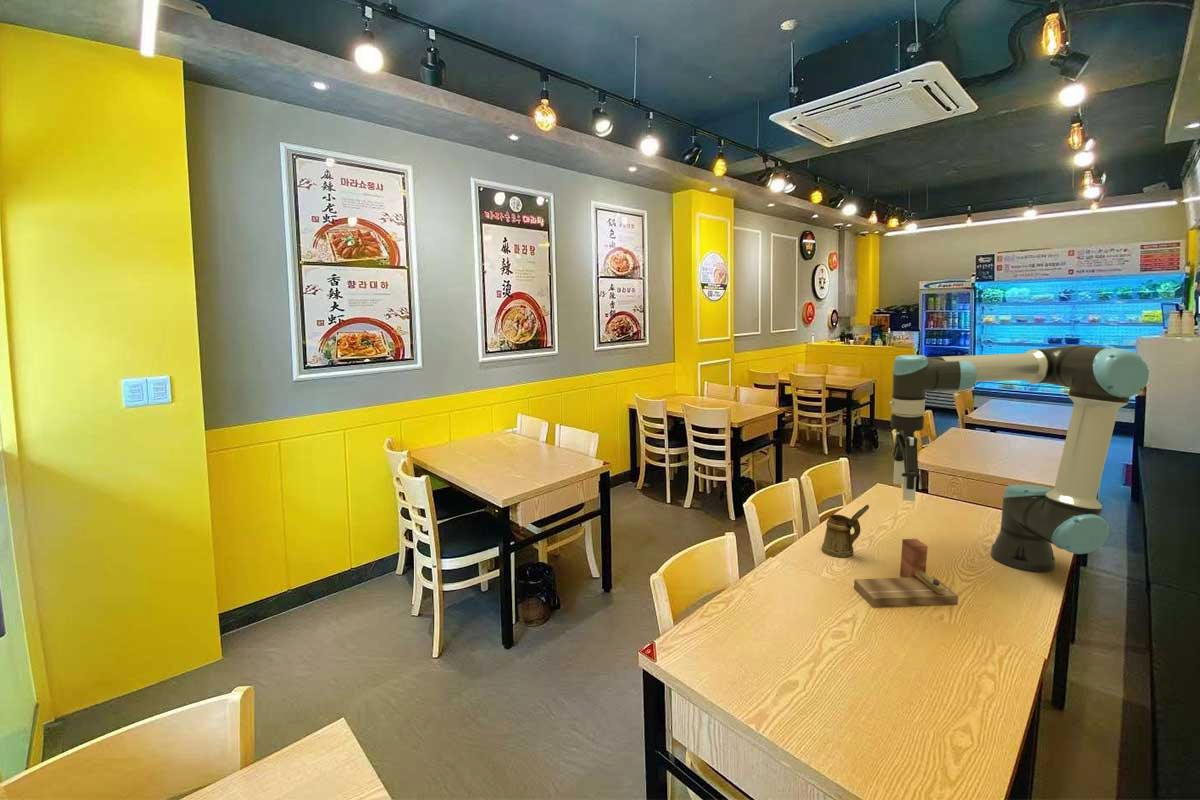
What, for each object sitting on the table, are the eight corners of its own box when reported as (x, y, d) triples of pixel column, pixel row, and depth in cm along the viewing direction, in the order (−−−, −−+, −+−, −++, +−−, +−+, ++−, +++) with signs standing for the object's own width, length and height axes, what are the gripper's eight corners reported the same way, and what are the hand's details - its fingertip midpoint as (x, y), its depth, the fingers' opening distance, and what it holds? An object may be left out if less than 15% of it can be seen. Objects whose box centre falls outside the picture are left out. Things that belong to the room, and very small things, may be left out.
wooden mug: (858, 565, 160) (861, 508, 157) (816, 550, 171) (818, 496, 168) (872, 557, 166) (876, 501, 163) (831, 542, 176) (833, 490, 173)
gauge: (913, 575, 154) (916, 538, 152) (948, 603, 139) (952, 563, 137) (900, 575, 153) (902, 539, 152) (933, 603, 139) (936, 563, 137)
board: (932, 585, 148) (933, 576, 148) (957, 604, 138) (958, 595, 138) (853, 587, 148) (854, 579, 147) (872, 607, 138) (873, 598, 138)
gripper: (884, 405, 154) (880, 476, 157) (900, 423, 131) (896, 506, 134) (913, 406, 151) (910, 478, 155) (935, 424, 128) (930, 509, 132)
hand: (903, 491), depth 145 cm, fingers open, 13 cm apart
